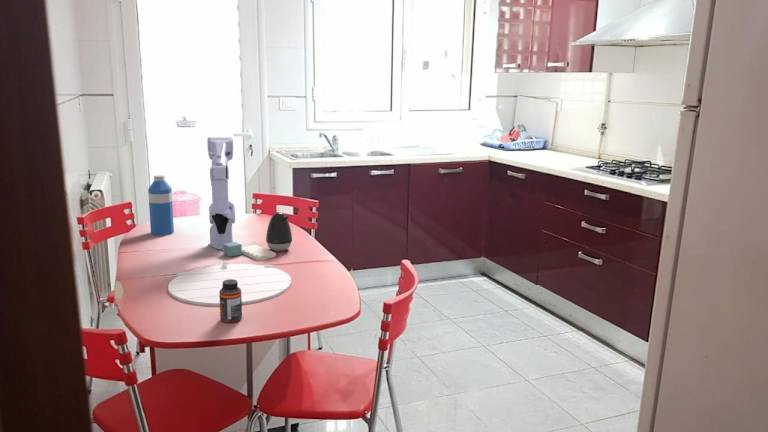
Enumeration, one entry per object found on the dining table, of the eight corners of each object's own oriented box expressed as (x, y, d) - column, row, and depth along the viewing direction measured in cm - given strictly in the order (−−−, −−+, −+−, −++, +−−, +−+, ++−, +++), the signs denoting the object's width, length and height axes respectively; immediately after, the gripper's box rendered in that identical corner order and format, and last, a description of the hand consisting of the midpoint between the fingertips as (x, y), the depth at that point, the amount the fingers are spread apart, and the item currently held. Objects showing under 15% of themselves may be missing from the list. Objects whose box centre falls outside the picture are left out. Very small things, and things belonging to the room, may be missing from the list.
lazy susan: (166, 271, 210) (166, 262, 209) (278, 262, 223) (278, 253, 223) (170, 313, 173) (169, 301, 173) (303, 299, 187) (303, 288, 186)
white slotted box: (237, 251, 235) (237, 247, 234) (255, 248, 240) (255, 244, 240) (257, 260, 224) (257, 256, 224) (275, 256, 229) (275, 252, 229)
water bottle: (150, 231, 262) (146, 174, 256) (172, 229, 266) (169, 173, 260) (151, 236, 253) (148, 178, 248) (175, 234, 257) (172, 177, 252)
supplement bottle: (217, 317, 170) (216, 279, 167) (238, 313, 173) (237, 276, 171) (224, 325, 165) (222, 286, 163) (245, 321, 168) (244, 282, 166)
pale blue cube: (223, 253, 230) (223, 243, 230) (235, 251, 234) (234, 241, 233) (230, 256, 227) (229, 246, 226) (241, 254, 230) (241, 244, 229)
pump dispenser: (279, 254, 232) (278, 216, 228) (260, 249, 238) (260, 212, 235) (297, 249, 240) (297, 212, 236) (279, 244, 246) (279, 208, 243)
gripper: (201, 196, 224) (202, 231, 227) (220, 202, 213) (221, 239, 216) (218, 194, 228) (219, 228, 231) (237, 200, 218) (238, 236, 221)
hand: (221, 233), depth 224 cm, fingers closed
